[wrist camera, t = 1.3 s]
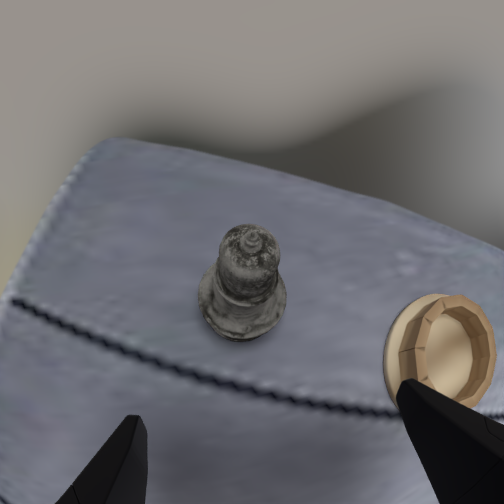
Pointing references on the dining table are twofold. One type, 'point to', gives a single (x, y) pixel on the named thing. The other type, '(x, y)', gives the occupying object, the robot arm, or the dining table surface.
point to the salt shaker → (244, 285)
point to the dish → (441, 348)
